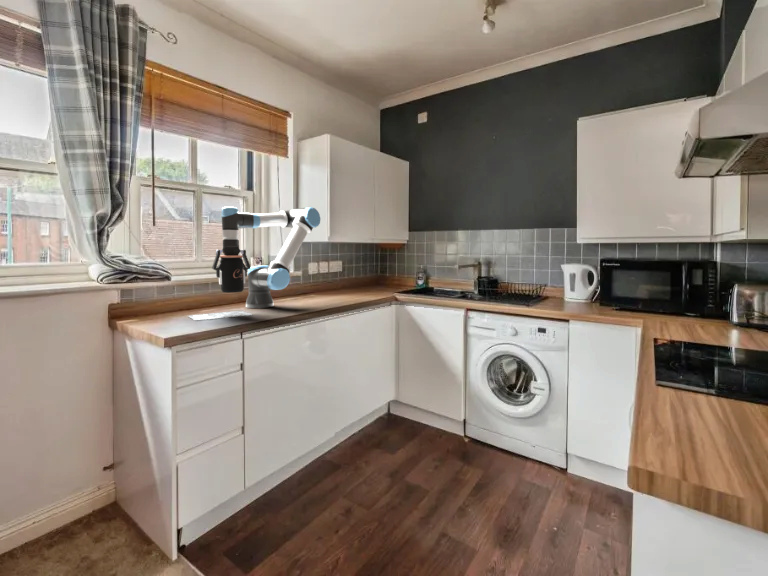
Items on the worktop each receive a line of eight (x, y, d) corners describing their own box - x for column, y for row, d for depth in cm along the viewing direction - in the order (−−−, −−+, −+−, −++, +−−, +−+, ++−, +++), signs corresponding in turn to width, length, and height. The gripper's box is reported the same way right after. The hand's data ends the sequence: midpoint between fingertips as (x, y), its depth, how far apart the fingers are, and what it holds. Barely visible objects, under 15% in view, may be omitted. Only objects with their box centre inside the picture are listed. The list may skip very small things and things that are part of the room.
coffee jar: (236, 292, 187) (234, 255, 186) (216, 292, 189) (215, 255, 188) (248, 290, 198) (247, 255, 196) (229, 290, 200) (228, 255, 198)
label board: (241, 311, 205) (241, 310, 205) (252, 315, 192) (252, 314, 192) (187, 316, 189) (187, 315, 189) (195, 320, 176) (195, 320, 176)
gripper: (251, 239, 201) (252, 282, 203) (203, 238, 187) (205, 284, 189) (256, 239, 195) (257, 283, 197) (207, 238, 181) (209, 285, 183)
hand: (232, 283), depth 193 cm, fingers closed on coffee jar, 11 cm apart
